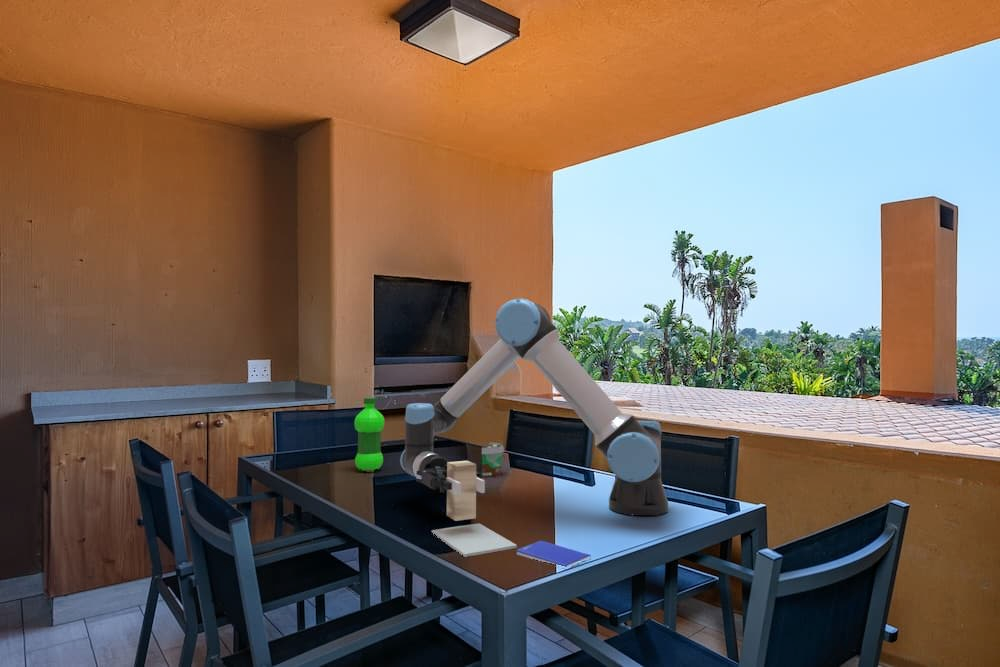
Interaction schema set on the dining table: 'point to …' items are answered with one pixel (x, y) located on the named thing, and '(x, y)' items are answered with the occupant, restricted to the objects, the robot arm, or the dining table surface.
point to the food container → (492, 459)
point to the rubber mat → (473, 539)
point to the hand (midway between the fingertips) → (471, 488)
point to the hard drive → (552, 553)
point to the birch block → (462, 491)
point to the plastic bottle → (369, 436)
